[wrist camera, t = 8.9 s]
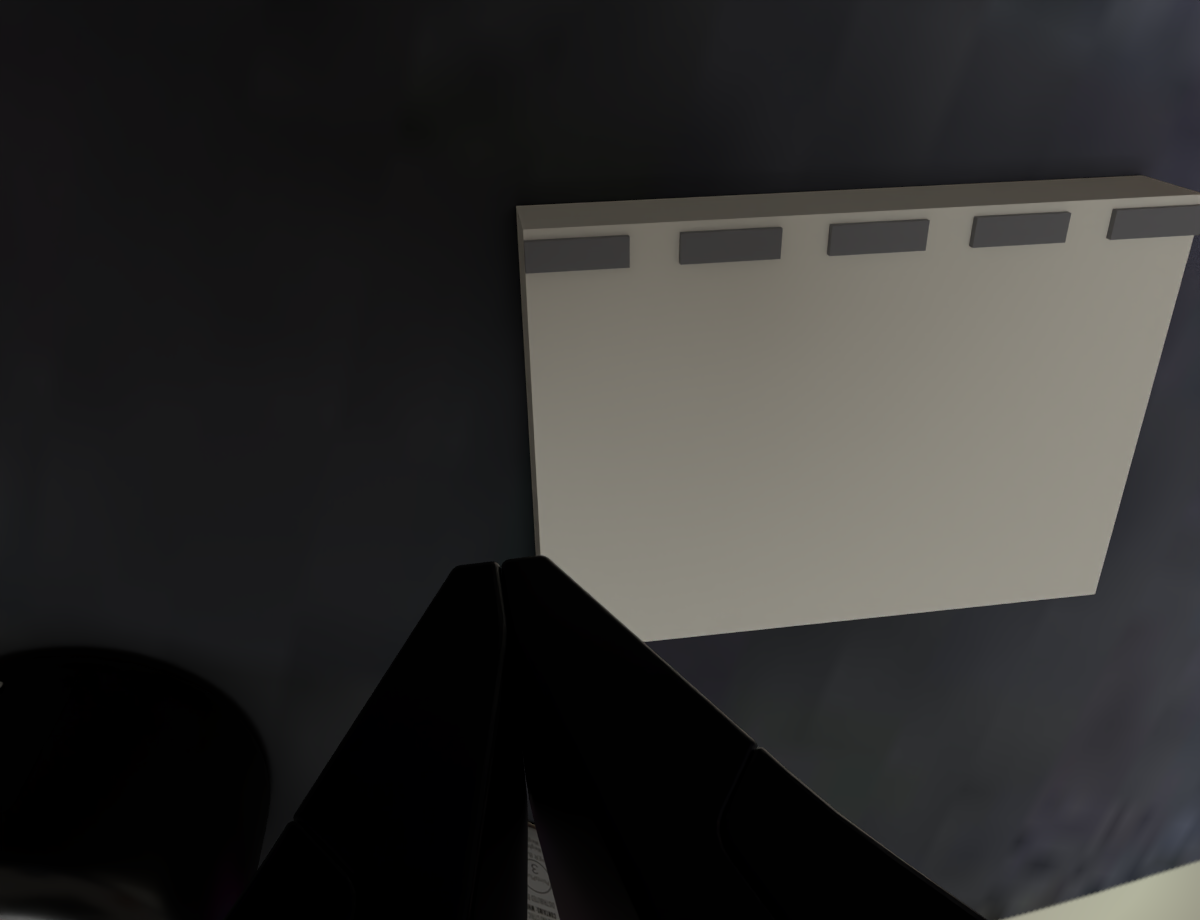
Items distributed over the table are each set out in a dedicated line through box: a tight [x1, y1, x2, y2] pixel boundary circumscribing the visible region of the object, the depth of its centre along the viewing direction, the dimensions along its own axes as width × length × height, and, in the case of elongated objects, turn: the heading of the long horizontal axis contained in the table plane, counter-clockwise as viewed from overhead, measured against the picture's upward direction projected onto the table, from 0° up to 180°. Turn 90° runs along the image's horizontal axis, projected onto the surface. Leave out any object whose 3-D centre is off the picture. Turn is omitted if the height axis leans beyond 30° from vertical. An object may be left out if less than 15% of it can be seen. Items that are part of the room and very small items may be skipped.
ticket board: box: [516, 175, 1200, 642], centre depth 22 cm, size 14×10×2 cm
